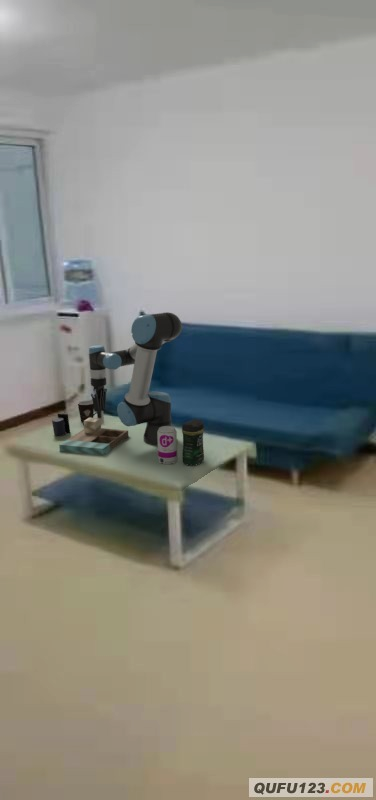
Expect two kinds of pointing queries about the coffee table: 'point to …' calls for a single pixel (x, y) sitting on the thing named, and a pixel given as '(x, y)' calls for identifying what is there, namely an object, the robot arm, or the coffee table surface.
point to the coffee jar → (193, 442)
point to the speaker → (61, 425)
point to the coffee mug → (86, 410)
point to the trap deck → (94, 441)
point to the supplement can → (167, 444)
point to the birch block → (92, 425)
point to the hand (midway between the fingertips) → (100, 423)
